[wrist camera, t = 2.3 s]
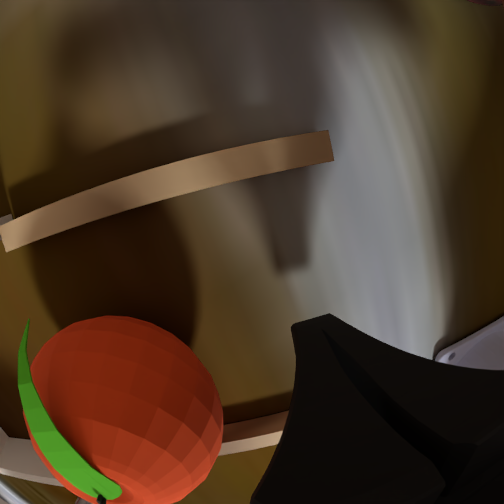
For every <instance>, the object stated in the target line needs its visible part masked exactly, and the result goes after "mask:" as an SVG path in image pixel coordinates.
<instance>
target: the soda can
mask: <svg viewBox="0 0 504 504" xmlns="http://www.w3.org/2000/svg"><path fill="white" fill-rule="evenodd" d="M75 504H93V503H90V502H88V501H86V500H84V499H82V498H80V497H79V498H78V499H77V501H76V503H75Z"/></svg>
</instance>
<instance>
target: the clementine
mask: <svg viewBox="0 0 504 504" xmlns="http://www.w3.org/2000/svg"><path fill="white" fill-rule="evenodd" d="M29 322H30V319H28V322H27V325H26V328H25V331H24V335H23V338H22V341H21V345H20V348H19V352H18V388H19V393H20V397H21V401H22V406H23V415H24V419H25V423H26V426H27V429H28V433H29V436H30V439H31V442H32V445H33V448H34V450H35V451H36V453H37V454H38V456H39V457H40V459H41V460H42V462H43V463H44V464H45V466H46V467H47V468H48V470H49V471H50V472H51V473H52V475H53V476H54V477H55V478H56V479H57V480H58V481H59V482H60V483H61V484H62V485H63V486H64V487H65V488H67V489H68V490H69V491H71V492H72V493H74V494H75V495H77V496H78V497H80V498H82V499H84V500H86V501H88V502H90V503H93V504H172V503H174V502H177V501H180V500H181V499H183V498H184V497H185V496H186V495H188V494H189V493H190V492H191V491H192V490H194V489H195V488H196V487H197V486H198V485H199V484H201V483H202V482H203V481H204V480H205V479H206V477H207V476H208V474H209V472H210V470H211V468H212V466H213V464H214V462H215V460H216V458H217V456H218V454H219V452H220V449H221V445H222V436H223V409H222V406H221V402H220V398H219V394H218V391H217V389H216V386H215V384H214V382H213V379H212V377H211V375H210V373H209V372H208V371H207V369H206V368H205V367H204V366H203V364H202V363H201V362H200V360H199V359H198V358H197V357H196V355H195V354H194V353H193V351H192V350H191V349H190V348H189V347H188V346H187V345H186V344H184V343H183V342H182V341H181V340H179V339H178V338H177V337H176V336H174V335H173V334H172V333H170V332H168V331H166V330H164V329H162V328H160V327H158V326H156V325H154V324H152V323H150V322H146V321H143V320H139V319H136V318H132V317H129V316H110V315H106V316H101V317H96V318H92V319H87V320H83V321H79V322H75V323H73V324H71V325H69V326H68V327H66V328H64V329H63V330H61V331H59V332H58V333H57V334H55V335H54V336H53V337H52V338H51V339H50V340H49V341H47V342H46V343H45V344H44V345H43V347H42V348H41V350H40V351H39V353H38V354H37V355H36V357H35V358H34V360H33V363H32V365H31V367H30V366H29V362H28V357H27V351H26V349H27V339H28V330H29Z"/></svg>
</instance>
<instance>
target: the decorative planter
mask: <svg viewBox="0 0 504 504" xmlns="http://www.w3.org/2000/svg"><path fill="white" fill-rule="evenodd" d="M467 1H470V2H473V3H477V4H482V5H489V6H497V5H503V8H504V0H467Z"/></svg>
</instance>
